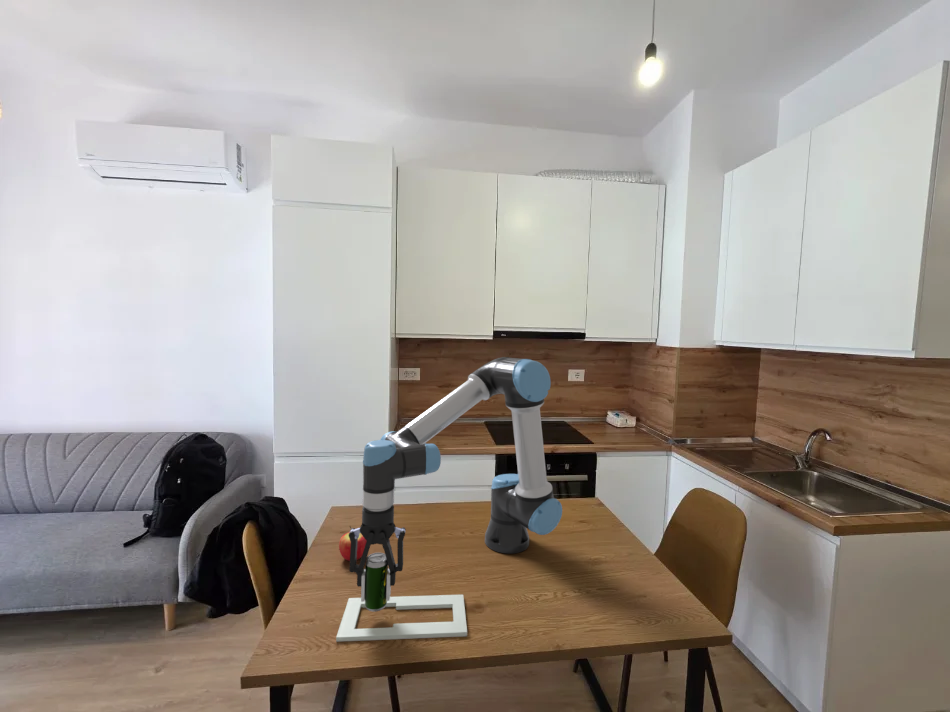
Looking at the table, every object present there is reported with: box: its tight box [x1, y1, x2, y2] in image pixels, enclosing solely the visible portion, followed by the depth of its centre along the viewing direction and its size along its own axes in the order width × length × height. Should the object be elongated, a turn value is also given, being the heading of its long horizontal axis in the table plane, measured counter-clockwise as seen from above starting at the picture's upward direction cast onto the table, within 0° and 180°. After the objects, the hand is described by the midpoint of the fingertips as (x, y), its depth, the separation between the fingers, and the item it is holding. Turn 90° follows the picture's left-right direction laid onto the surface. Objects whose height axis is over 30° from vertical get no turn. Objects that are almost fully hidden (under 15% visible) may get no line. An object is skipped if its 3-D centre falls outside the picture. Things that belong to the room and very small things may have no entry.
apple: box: [338, 525, 366, 562], centre depth 128 cm, size 8×8×10 cm
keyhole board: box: [335, 594, 468, 642], centre depth 102 cm, size 30×14×1 cm, turn 96°
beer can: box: [364, 552, 389, 613], centre depth 101 cm, size 5×5×12 cm
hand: (376, 597), depth 101 cm, fingers closed on beer can, 5 cm apart
